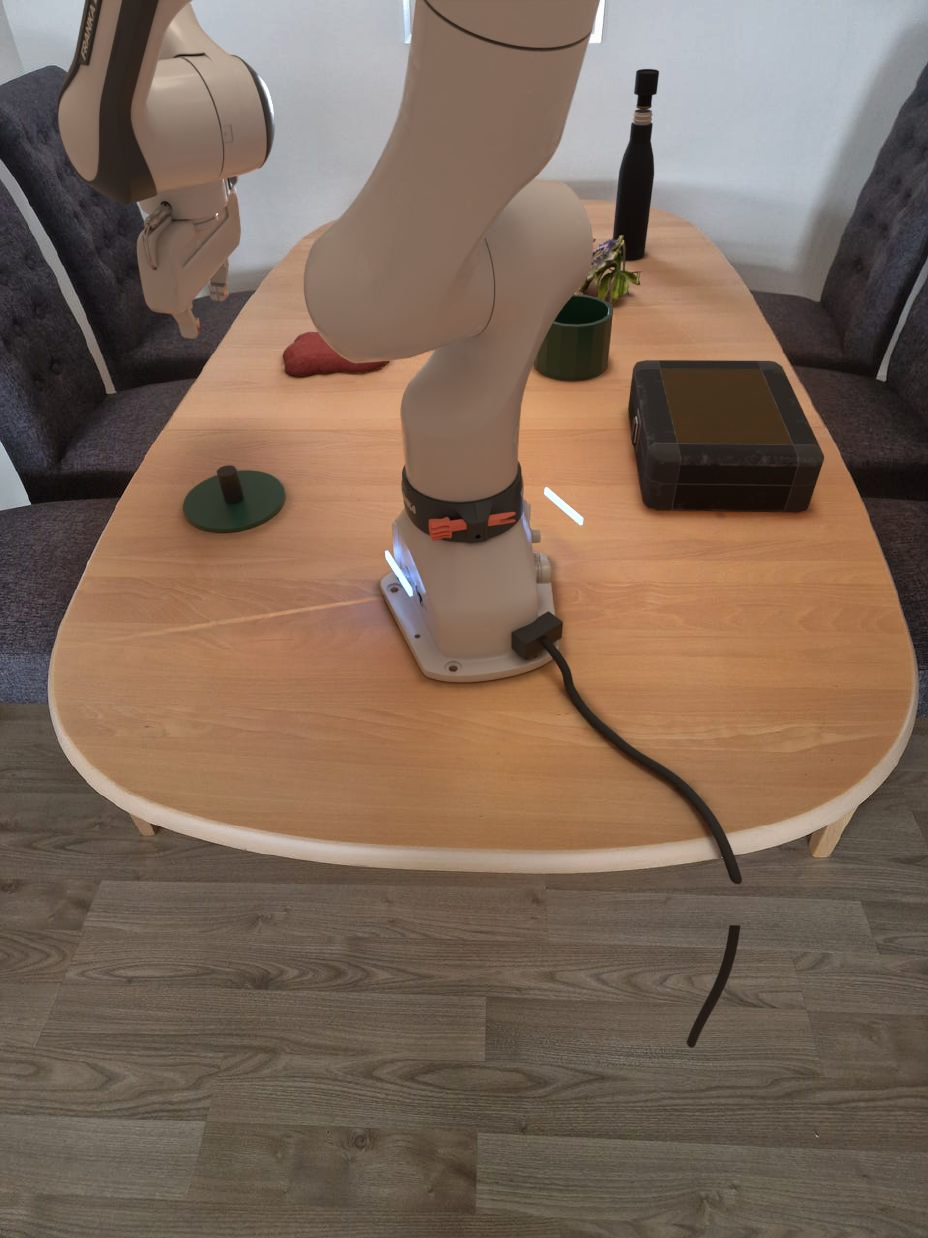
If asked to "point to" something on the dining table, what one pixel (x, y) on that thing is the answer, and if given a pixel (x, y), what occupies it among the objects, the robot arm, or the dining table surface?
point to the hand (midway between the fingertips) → (206, 316)
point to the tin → (577, 340)
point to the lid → (234, 500)
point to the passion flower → (606, 259)
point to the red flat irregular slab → (319, 358)
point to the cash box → (721, 437)
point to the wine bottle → (637, 171)
